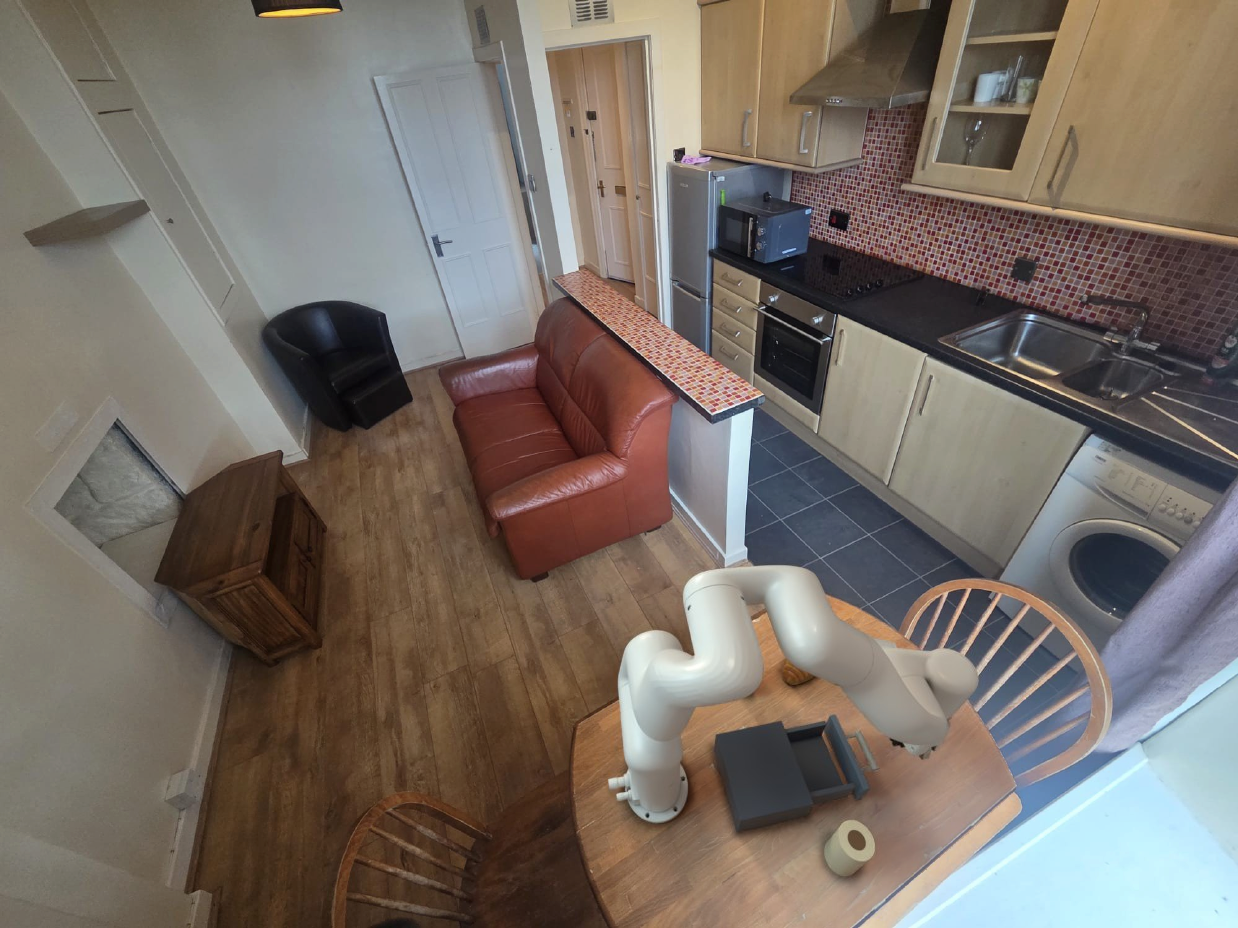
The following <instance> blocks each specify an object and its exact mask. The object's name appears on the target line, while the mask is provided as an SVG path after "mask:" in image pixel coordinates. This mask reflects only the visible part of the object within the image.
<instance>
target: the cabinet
mask: <svg viewBox="0 0 1238 928" xmlns="http://www.w3.org/2000/svg"><path fill="white" fill-rule="evenodd" d="M785 729H786V728H785V726H784V724H783V721H782V720H778V721H777V720H776V721H772V722H769V723H764V724H759V725H754V726H749V727H745V728H740V729H736V730H730V731H725V732H722V733H716V734H715V736H714V737H715V738H714V746H713V753H714V757H715V759H716V763H717V767H718V770H719V774H720V778H721V781H722V785H723V789H724V793H725V795H726V798H727V803H728V807H729V809H730V813H731V817H732V820H733V824H734V827H735V832H736V833H742V832H747V831H751V830H752V831H753V830H754V829H755V830H756V829H760V828H765V827H768V826H774V825H777V824H782V823H787V822H791V821H795V820H800V819H804V818H807V816H808V815H809V813H810V811H811V810H812V808H813V806H815V805H814V803H813V801H812V798H811V795H810V793H809V790H808V788H807V785H806V783H805V780H804V777H803V775H802V772H801V770H800V767H799V765H798V762H797V759H796V757H795V754H794V752H793V749H792V747H791V744H790V741H789V739H788V736H787V734H786V731H785Z"/></svg>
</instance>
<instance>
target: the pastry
mask: <svg viewBox="0 0 1238 928" xmlns="http://www.w3.org/2000/svg"><path fill="white" fill-rule="evenodd" d="M814 677H815V676H814V675H812V674H810V673H807V672H805V671H803V670H801V669H799V668H797V667H795V666H794V665H793V664H791V663H790V662H789V661H788V660H787V659H786V660H785V662H784V665H783V668H782V670H781V678H782V680H783V681H784V682H785V683H786V684H789V685H792V686H798V685H801V684H802V683H805V682H808V681H809V680H812V679H813V678H814Z"/></svg>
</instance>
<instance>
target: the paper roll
mask: <svg viewBox="0 0 1238 928" xmlns="http://www.w3.org/2000/svg"><path fill="white" fill-rule="evenodd" d="M875 852H876V843H875V839H874V836H873V834H872V832H871V831H870V829H868V827H867V826H866V825H865V824H864V823H862V822H861V821H858V820H855V819H847V820H845V821H843V822H842V823H841V824H840V825H839V827H838V828H837V829H836V830H835V832H834V833H833V834H832V836H831V837H830V838H829V839H828V840H827V842H826V843H825V845H824V849H823V854H824V859H825V861H826V864H827V866H828V867H829V868H830V870H831V871H832V872H833V873H835V874H836V875H838V876H841V877H850V876H852V875H853V874H855V873H856V872H857V871H858V870H859V869H860V868H861V867H863V866H864V865H865V864H867V862H868V861H870V860H871V859H872V858H873V857H874V855H875Z"/></svg>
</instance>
